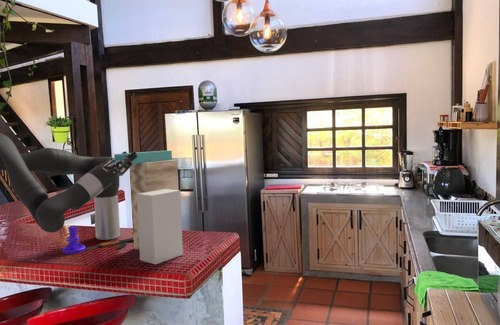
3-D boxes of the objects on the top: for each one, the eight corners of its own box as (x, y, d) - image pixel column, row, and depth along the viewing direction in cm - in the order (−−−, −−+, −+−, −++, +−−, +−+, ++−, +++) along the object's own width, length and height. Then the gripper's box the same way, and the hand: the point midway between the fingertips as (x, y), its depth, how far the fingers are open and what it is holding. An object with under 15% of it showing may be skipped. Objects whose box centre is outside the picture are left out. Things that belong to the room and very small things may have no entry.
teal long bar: (114, 164, 136) (114, 154, 136) (165, 159, 154) (164, 150, 153) (121, 164, 134) (121, 154, 134) (172, 159, 151) (171, 150, 151)
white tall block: (140, 260, 134) (136, 193, 132) (167, 250, 143) (164, 188, 141) (155, 264, 129) (151, 195, 127) (183, 254, 138) (180, 190, 136)
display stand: (134, 248, 147) (129, 162, 145) (163, 239, 158) (160, 159, 156) (151, 253, 141) (146, 163, 138) (180, 243, 152) (177, 160, 149)
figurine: (59, 257, 143) (55, 230, 141) (68, 248, 151) (64, 223, 149) (80, 256, 143) (77, 229, 141) (89, 247, 151) (85, 222, 149)
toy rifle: (78, 255, 138) (72, 248, 147) (79, 259, 139) (72, 252, 147) (168, 237, 158) (158, 232, 166) (168, 241, 158) (158, 236, 166)
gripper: (100, 174, 122) (138, 144, 133) (75, 172, 131) (114, 144, 142) (112, 193, 126) (148, 163, 136) (87, 190, 134) (124, 161, 145)
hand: (131, 153), depth 139 cm, fingers open, 4 cm apart
